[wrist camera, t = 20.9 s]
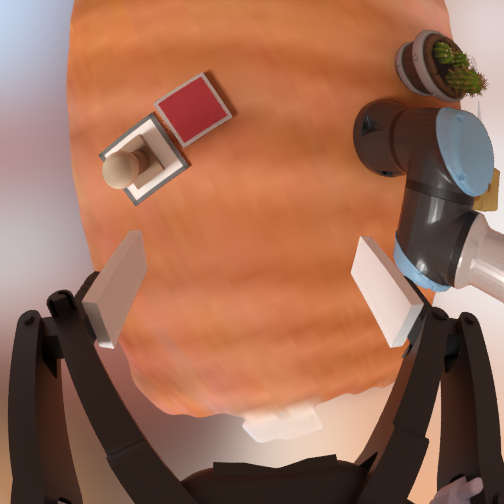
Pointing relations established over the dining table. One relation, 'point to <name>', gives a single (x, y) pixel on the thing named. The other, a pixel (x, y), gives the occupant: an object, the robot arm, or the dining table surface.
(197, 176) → the dining table surface
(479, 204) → the cheese
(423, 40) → the flowerpot
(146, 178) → the stamp
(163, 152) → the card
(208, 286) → the dining table surface
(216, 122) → the ink pad
